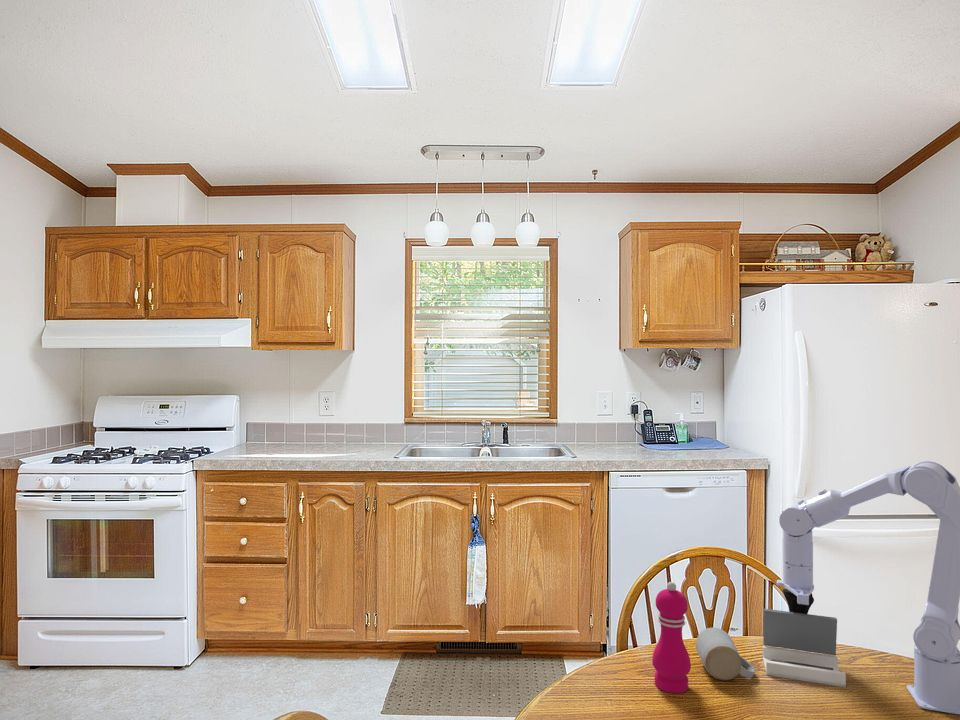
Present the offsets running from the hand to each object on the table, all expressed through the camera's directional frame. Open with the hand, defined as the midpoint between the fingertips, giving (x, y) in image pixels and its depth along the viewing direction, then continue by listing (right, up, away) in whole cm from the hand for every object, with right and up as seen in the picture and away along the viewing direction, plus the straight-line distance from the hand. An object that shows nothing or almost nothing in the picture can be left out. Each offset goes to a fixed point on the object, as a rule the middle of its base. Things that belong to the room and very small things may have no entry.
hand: (797, 626), depth 130 cm
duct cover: (-1, 0, -2) cm, 2 cm away
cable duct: (-2, -7, -5) cm, 9 cm away
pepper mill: (-31, -7, -11) cm, 33 cm away
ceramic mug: (-18, -7, -6) cm, 20 cm away
